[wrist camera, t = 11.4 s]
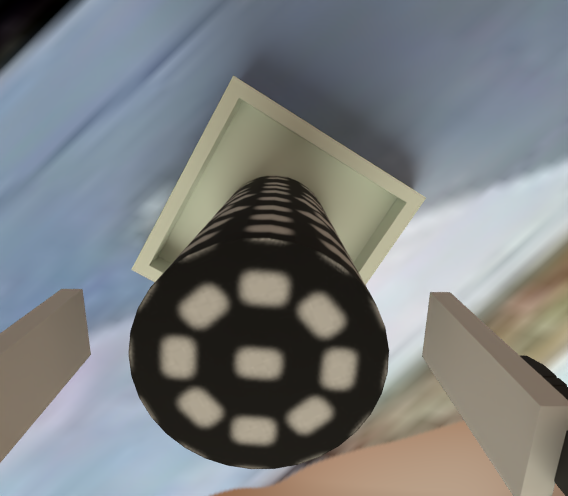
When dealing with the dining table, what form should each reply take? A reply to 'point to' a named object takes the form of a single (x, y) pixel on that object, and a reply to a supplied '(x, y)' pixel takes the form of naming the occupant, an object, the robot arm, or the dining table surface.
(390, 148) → the dining table surface
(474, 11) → the dining table surface
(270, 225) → the spotted tube
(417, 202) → the tray
